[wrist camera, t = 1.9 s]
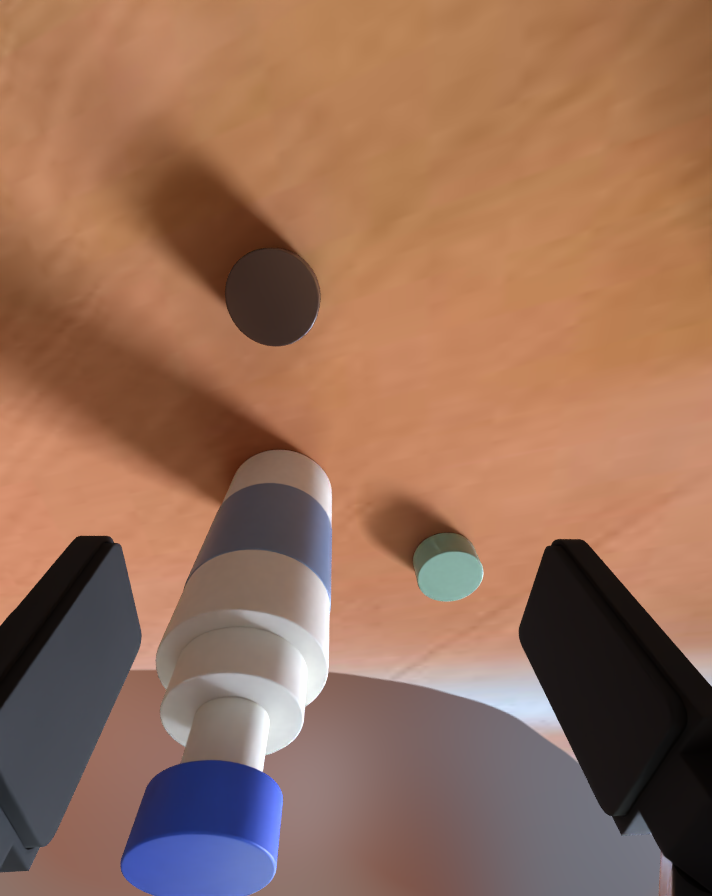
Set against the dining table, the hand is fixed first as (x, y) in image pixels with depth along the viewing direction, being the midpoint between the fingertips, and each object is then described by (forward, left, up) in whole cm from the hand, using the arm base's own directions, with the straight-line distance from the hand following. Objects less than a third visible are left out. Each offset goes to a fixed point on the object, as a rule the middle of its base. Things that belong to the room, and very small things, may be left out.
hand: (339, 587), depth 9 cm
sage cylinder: (+2, +18, -19) cm, 26 cm away
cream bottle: (+9, +6, -19) cm, 21 cm away
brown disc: (+1, -5, -19) cm, 20 cm away
